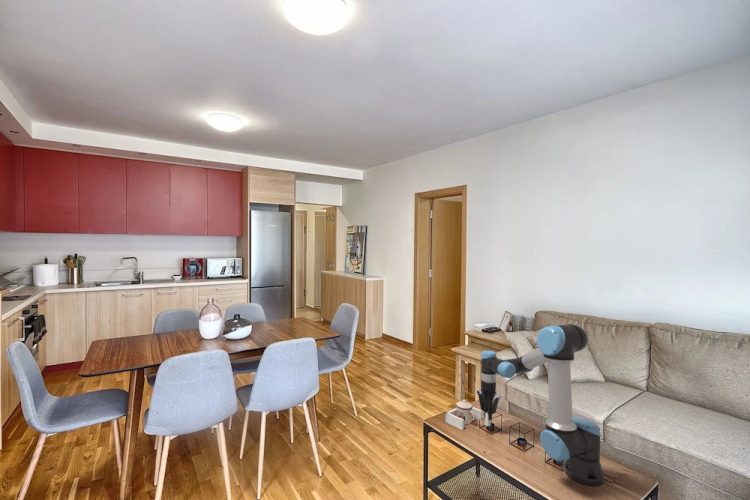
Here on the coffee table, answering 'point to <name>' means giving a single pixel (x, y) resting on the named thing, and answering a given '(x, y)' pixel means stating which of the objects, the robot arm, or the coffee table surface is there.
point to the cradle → (458, 422)
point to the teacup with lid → (465, 411)
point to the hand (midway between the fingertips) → (488, 425)
